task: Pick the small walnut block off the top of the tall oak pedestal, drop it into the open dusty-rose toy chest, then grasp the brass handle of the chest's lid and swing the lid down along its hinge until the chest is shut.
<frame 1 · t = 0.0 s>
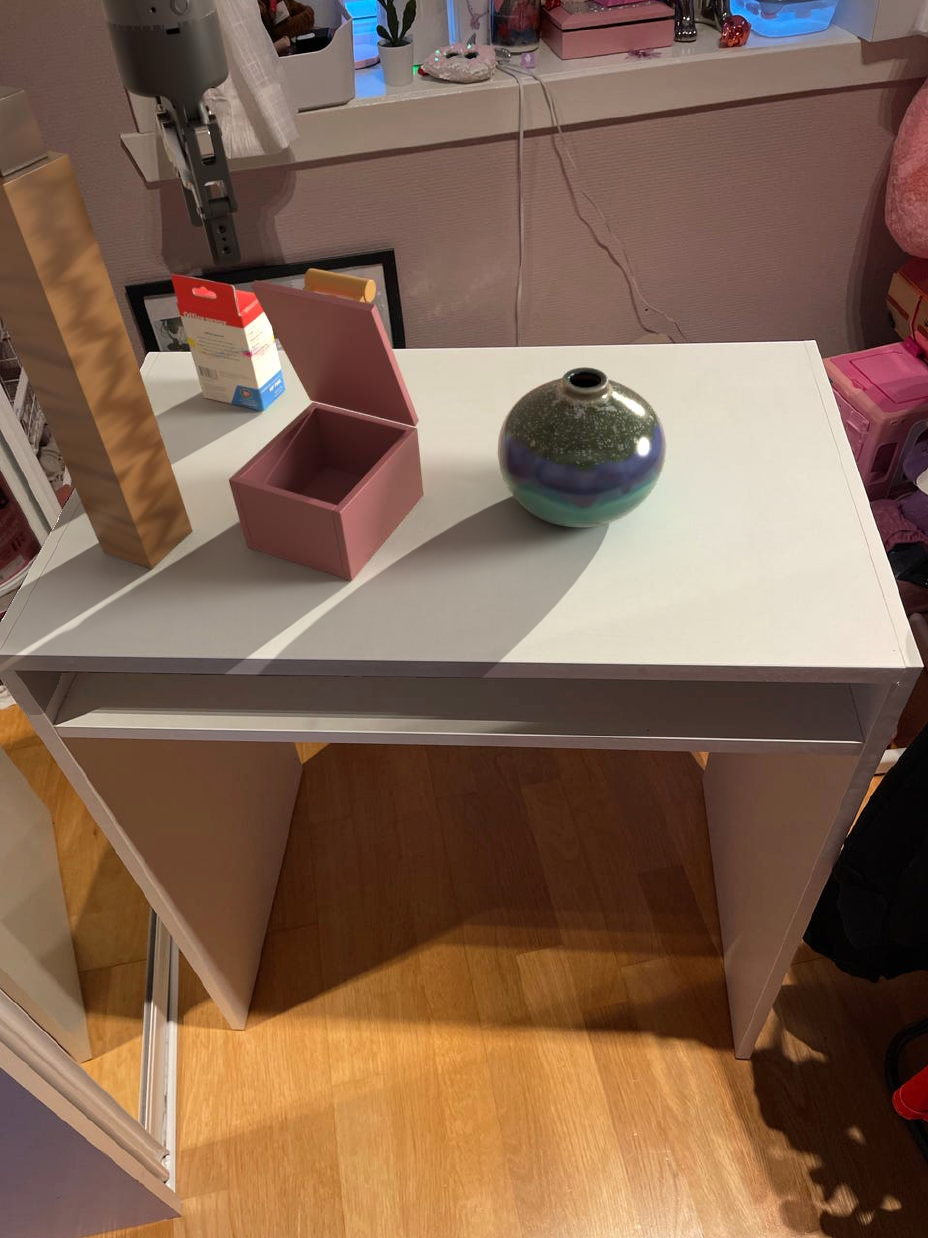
hand: (215, 242, 73), 25 cm above the table, tool pointing down, fingers open, 8 cm apart
vase: (577, 502, 88), on the table
chest: (337, 520, 87), on the table
pedestal: (148, 541, 86), on the table
ink box: (245, 396, 104), on the table
lid: (349, 340, 80), point 16 cm above the table, hinge at 70.0°
block: (4, 162, 62), point 34 cm above the table, touching pedestal
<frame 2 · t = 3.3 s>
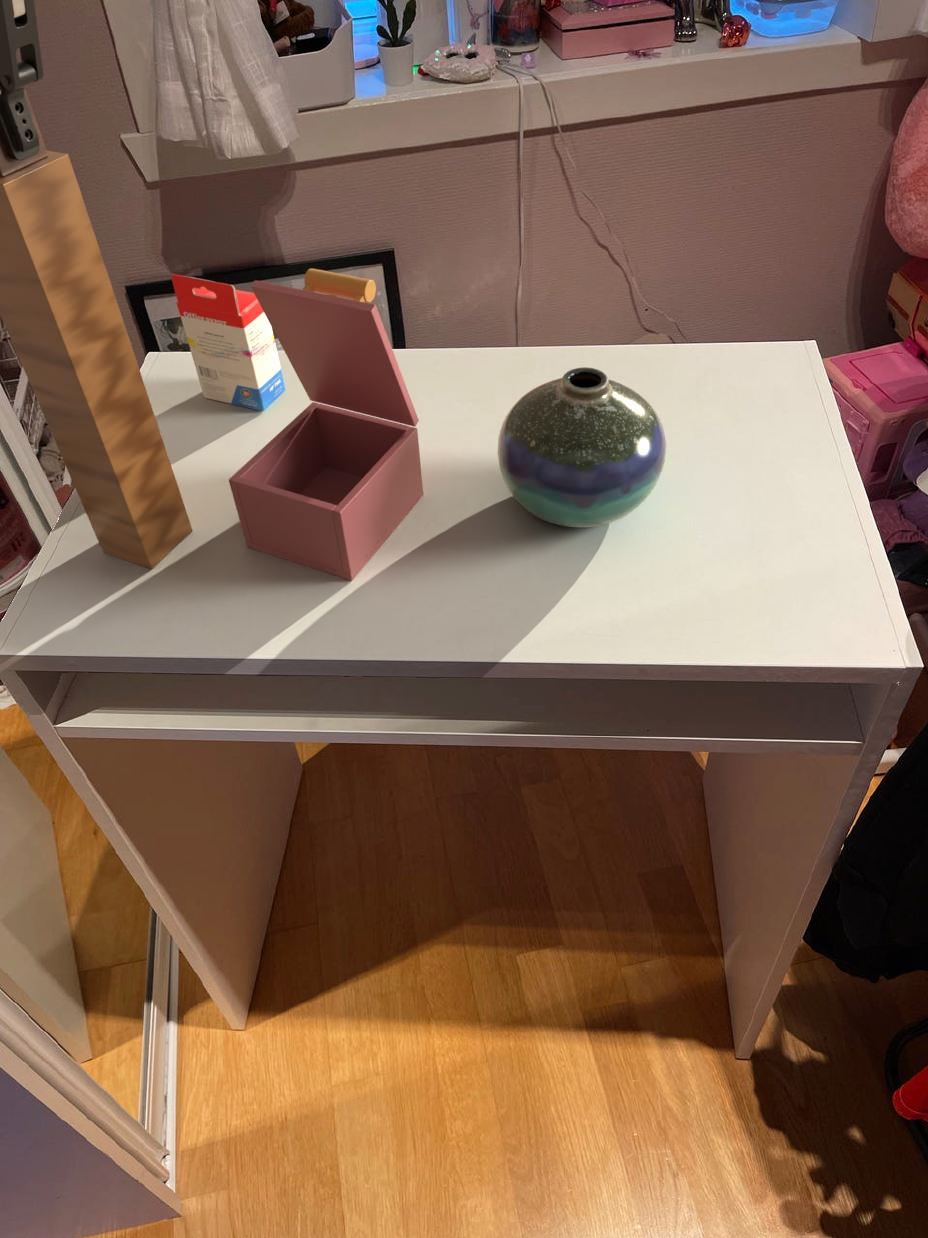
block: (4, 162, 62), point 34 cm above the table, touching gripper, pedestal
everything else where it was.
when the fingers open (19 cm above the table, at t = 9.5 s): block drops 18 cm, resting on chest.
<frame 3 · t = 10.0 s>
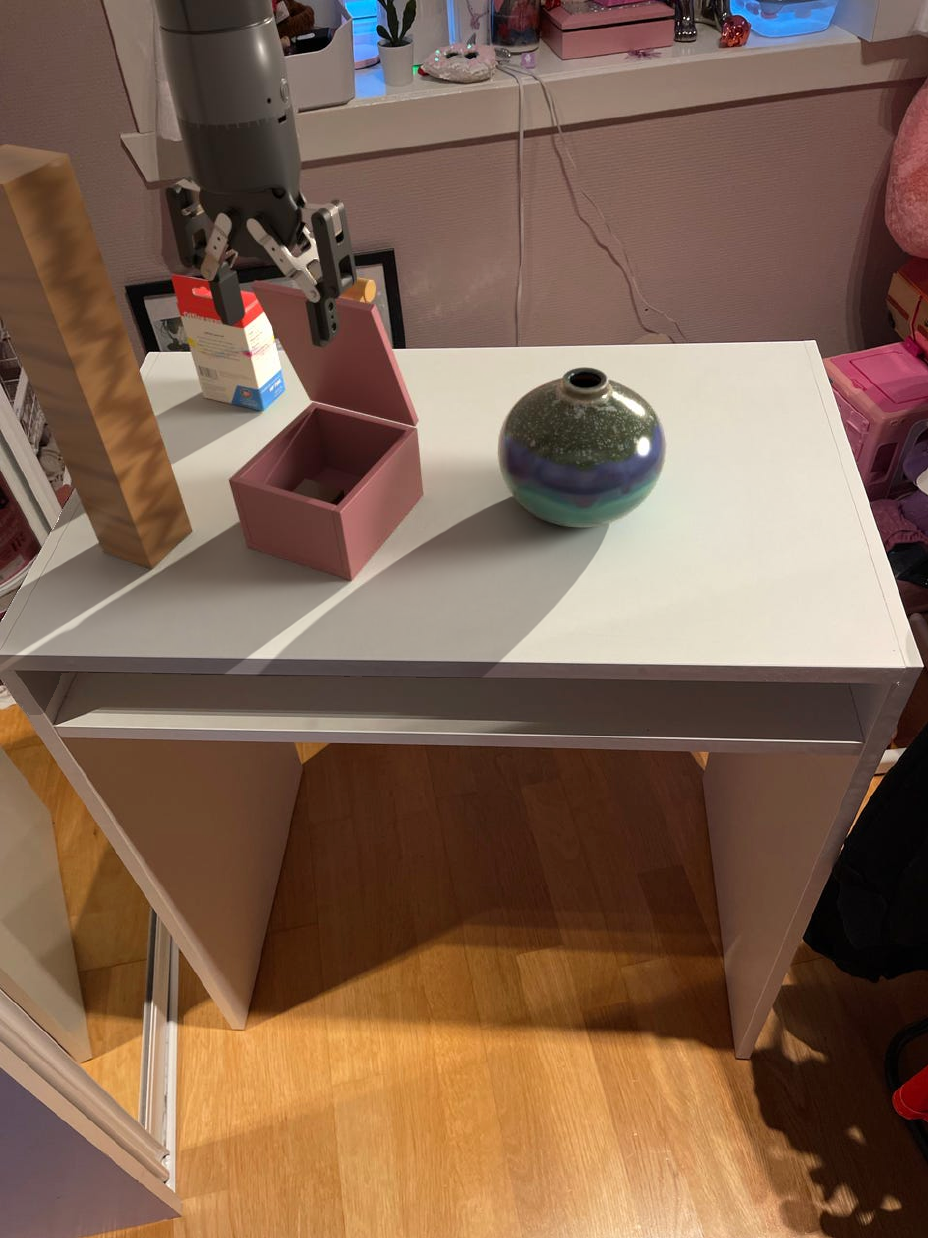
hand: (279, 331, 70), 21 cm above the table, tool pointing down, fingers open, 8 cm apart
block: (319, 532, 85), point 1 cm above the table, touching chest
everything else where it was.
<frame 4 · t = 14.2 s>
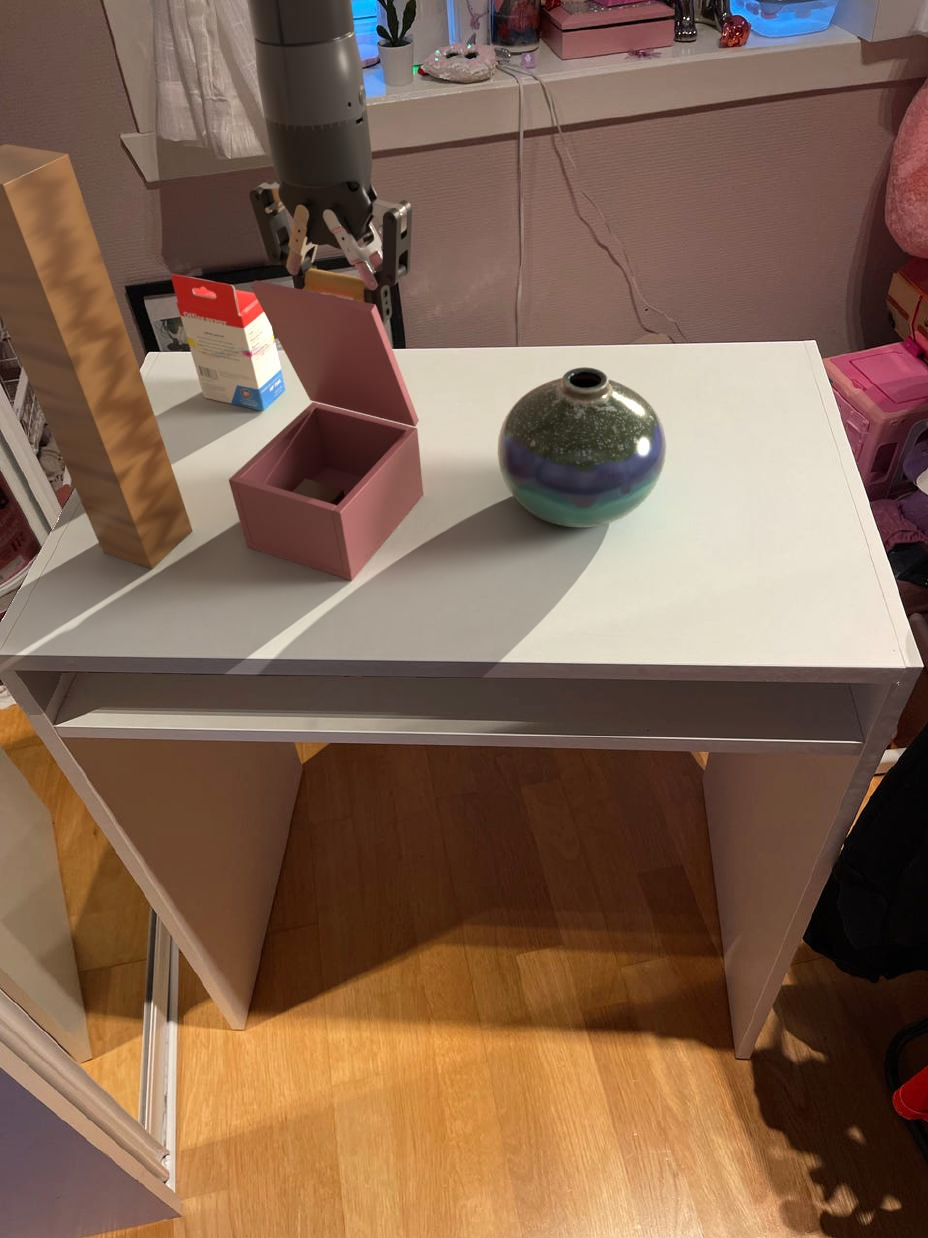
hand: (345, 318, 78), 18 cm above the table, tool pointing down, fingers closed on lid, 6 cm apart
lid: (349, 340, 80), point 16 cm above the table, hinge at 70.0°, touching gripper
everything else where it was.
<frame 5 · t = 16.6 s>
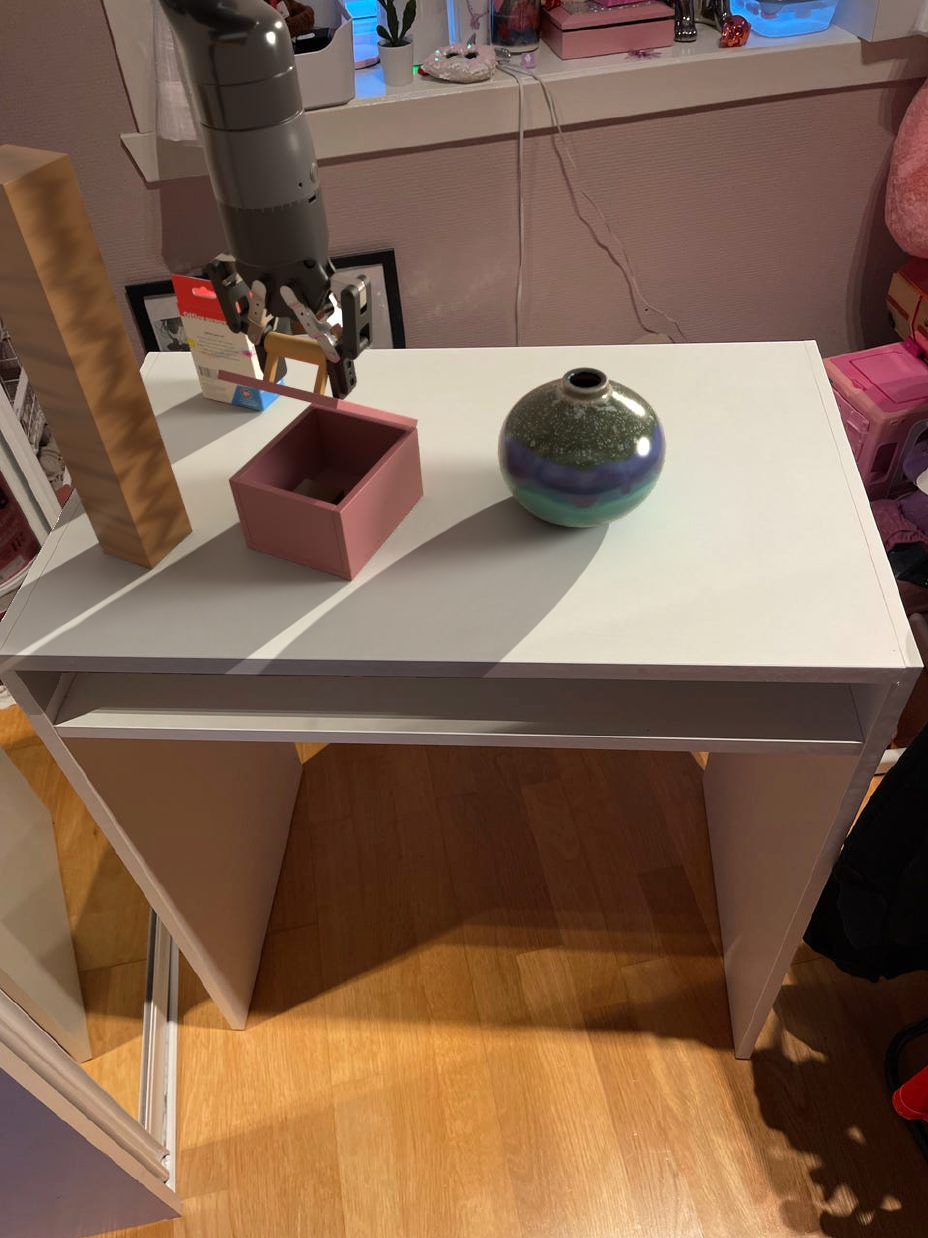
hand: (310, 385, 76), 15 cm above the table, tool pointing down, fingers closed on lid, 6 cm apart
lid: (328, 377, 78), point 14 cm above the table, hinge at 37.3°, touching gripper
everything else where it was.
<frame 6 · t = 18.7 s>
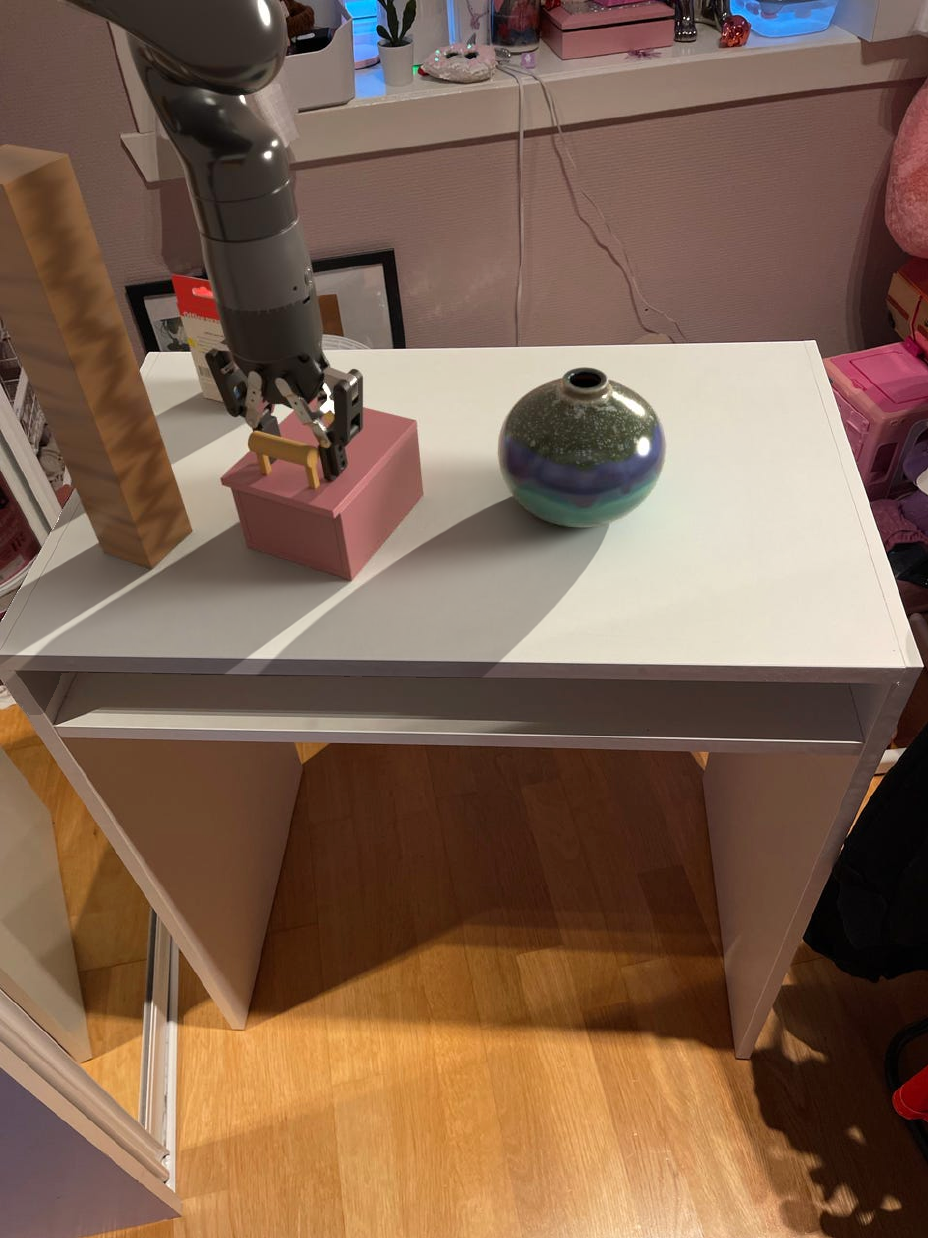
hand: (304, 465, 79), 9 cm above the table, tool pointing down, fingers closed on lid, 5 cm apart
lid: (318, 432, 80), point 10 cm above the table, hinge at -0.2°, touching chest, gripper
everything else where it was.
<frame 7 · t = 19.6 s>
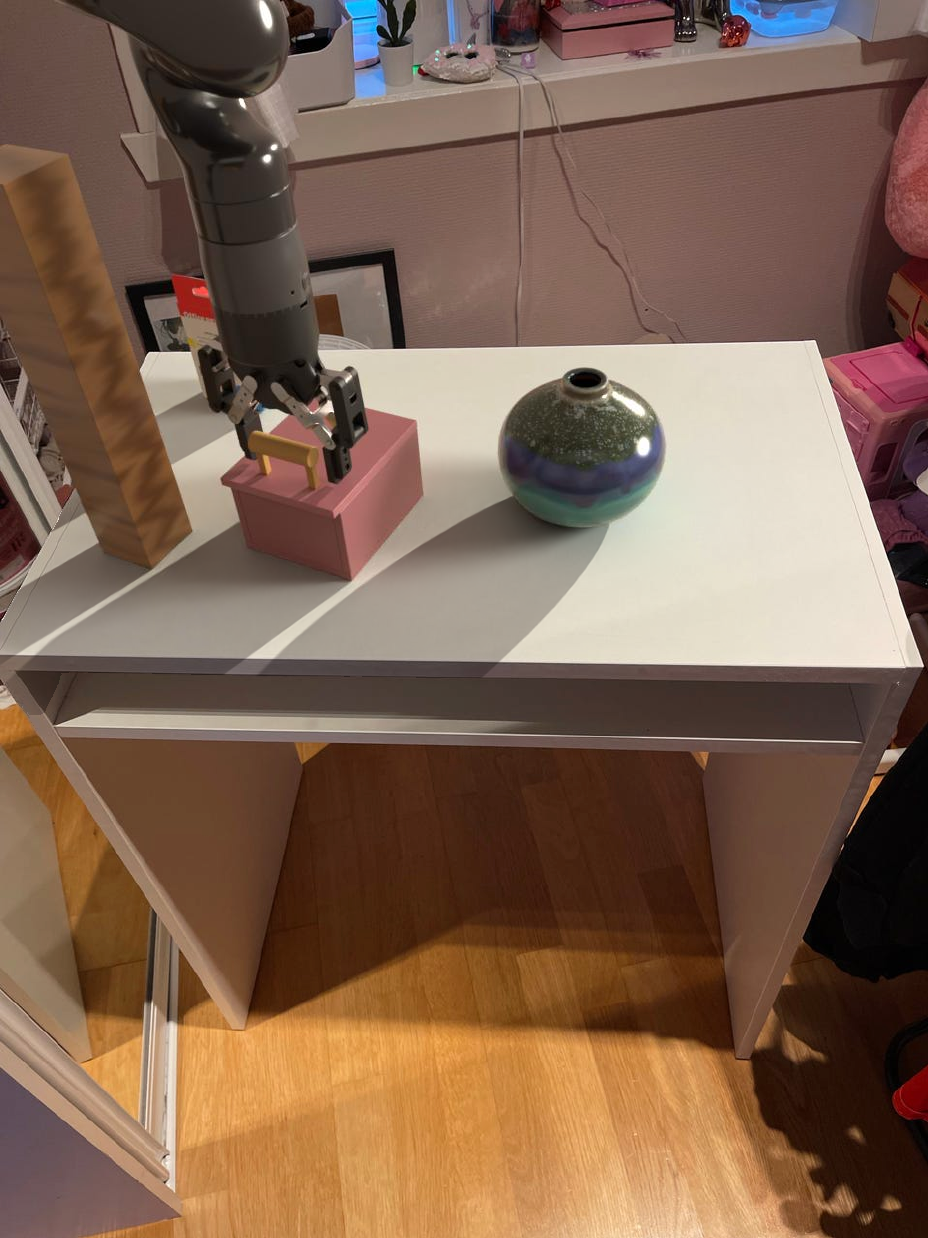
hand: (297, 466, 78), 9 cm above the table, tool pointing down, fingers open, 8 cm apart
lid: (318, 432, 80), point 10 cm above the table, hinge at -0.2°
everything else where it was.
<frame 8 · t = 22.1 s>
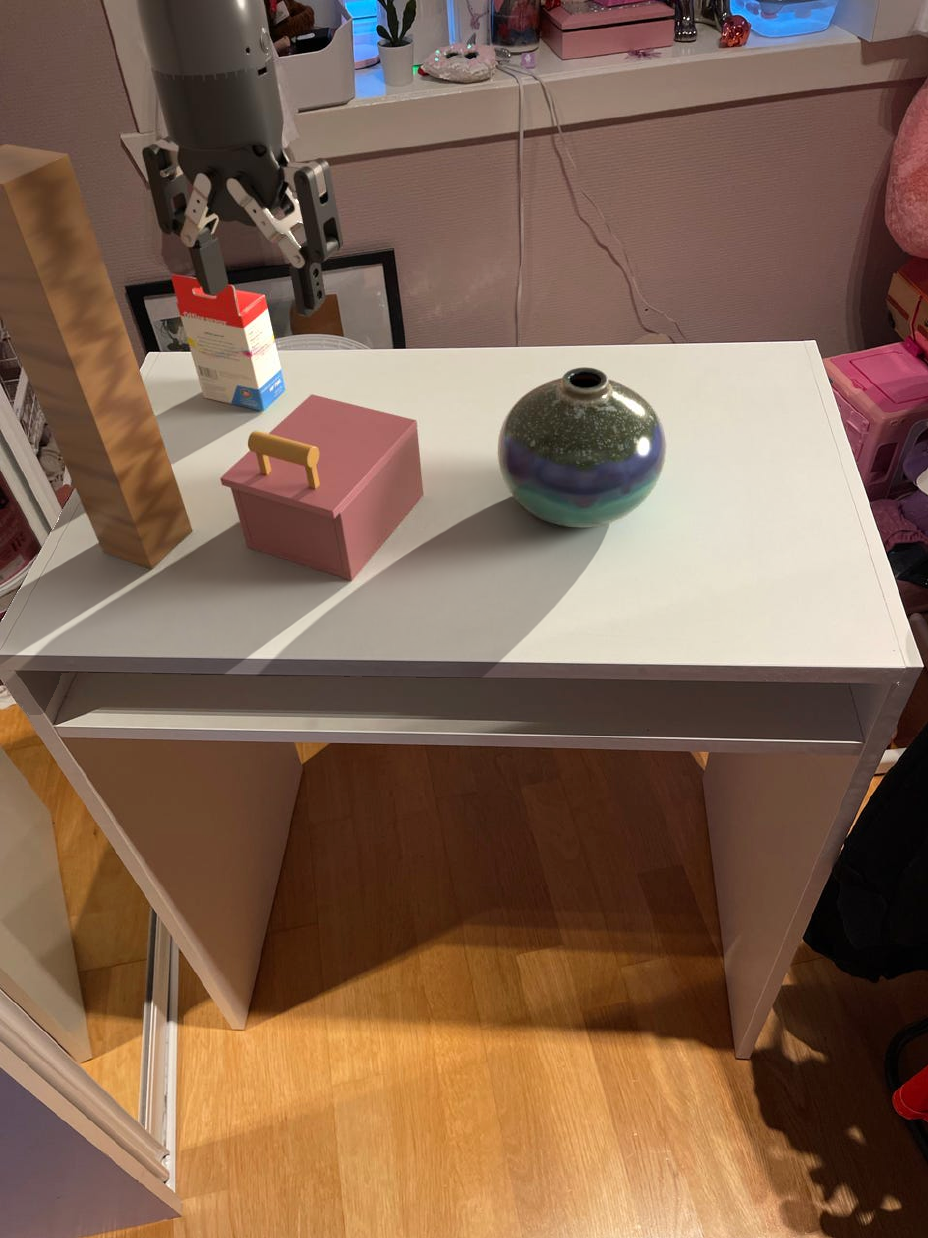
hand: (262, 301, 67), 24 cm above the table, tool pointing down, fingers open, 8 cm apart
nothing on the table moved.
at the end: block inside the target area in the chest (3.0 cm from its centre), point 0.8 cm above the chest's base; lid at +0° (first picture: +70°) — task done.
